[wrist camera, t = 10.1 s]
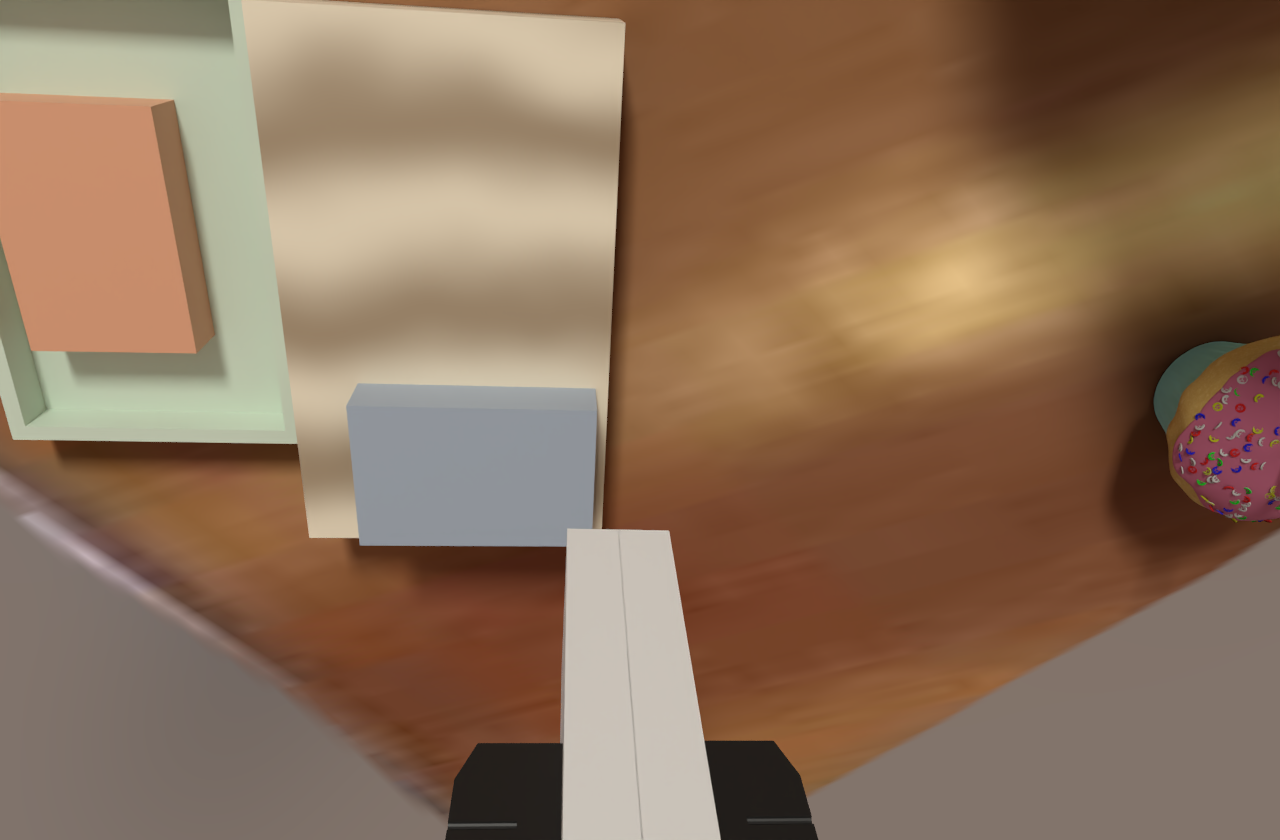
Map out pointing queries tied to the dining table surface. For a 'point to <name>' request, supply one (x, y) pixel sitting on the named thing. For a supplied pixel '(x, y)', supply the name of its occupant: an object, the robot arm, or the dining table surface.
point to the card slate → (471, 464)
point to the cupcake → (1225, 426)
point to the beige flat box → (434, 208)
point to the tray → (224, 215)
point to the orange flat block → (100, 225)
